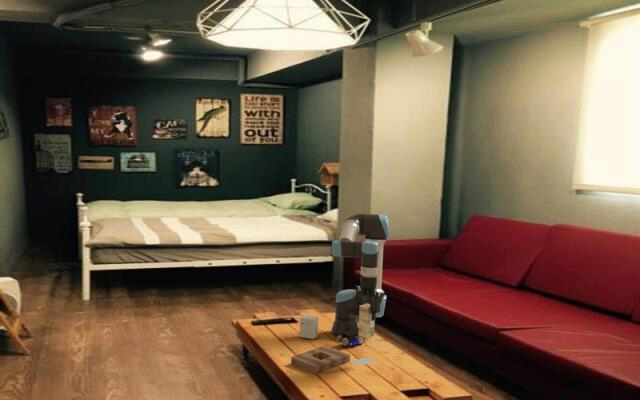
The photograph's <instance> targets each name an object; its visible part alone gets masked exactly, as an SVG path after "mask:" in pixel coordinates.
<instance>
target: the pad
mask: <svg viewBox="0 0 640 400" xmlns="http://www.w3.org/2000/svg"><path fill="white" fill-rule="evenodd" d="M377 363H378V362H376V361H374V360H371V359H368V358H366V357H362V358H359V359H357V360H354V361H350V364H352V365H354V366H356V365H357V366H359V365H367V364H369V365H370V364H377Z"/></svg>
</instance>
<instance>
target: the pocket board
mask: <svg viewBox="0 0 640 400" xmlns="http://www.w3.org/2000/svg"><path fill="white" fill-rule="evenodd" d="M290 358H291V359H290V363H291V366H294V367H297V368H299V369H301V370H304V371H307V372H309V373H312V374H314V375H319V374H321V373H324V372H326V370H327V371H329V369H330V370H332V369H335V368H337V367H340V366H343V365H346V364H350V363H351V361H350V360H351V355H350V354H349V353H346V352H345V351H344V352H343V351H341V350H339V349H336V348H332V347H329V346H327V345H322V346H319V347H316V348H313V349H311V350H307V351H304V352H301V353H299V354H296V355H292V356H291V357H290ZM320 359H321V360H320ZM323 371H324V372H323Z"/></svg>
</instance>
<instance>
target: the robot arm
mask: <svg viewBox="0 0 640 400" xmlns="http://www.w3.org/2000/svg"><path fill="white" fill-rule="evenodd" d="M389 226H390V225H389V219H388V216H387V215H385V214H376V213H375V214H373V213H372V214H371V213H355V214H353V215H350V216H349V217H347V218H346V219H344V220H343V222H342V224H341V227H340V229H341V231H340V232H341V233H340V235H339V238H338V240H332V242H331V255H332V256H333V257H339V258H340V257H341V258H357V259H358V258H359V259H360V277H359V278H360V281H359V283H360V285H357V286H355V289H343V290H341V291H338V292H337V293H336V295H335V296H336V297H335V314H334V315H335V316H334V321H333V324H332V326H331V335H332V336H334V337H336V338H337V337H338V336H342V332H346V331H349V330H353V329H357V328H359V322H358V319H357V318H358V317H359V311H360V305H363V304H370V308H371V313H370V319H369V328H372V327H374V328H375V323H374V320H375V321H376V320H377V318H382V317H383V316H384V312H385V309H386V301H387V297H388V296H387V295H386V294H385V291H384V290H383V289H382V284H383V283H382V282H383V281H382V280H383V262H384V261H383V260H384V245H385V242H387V238H390V227H389ZM356 236H360V237H361V236H362V237H364V241H355V240H356ZM354 337H356V336H353V337H350V339H351V338H354Z"/></svg>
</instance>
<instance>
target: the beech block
mask: <svg viewBox="0 0 640 400" xmlns="http://www.w3.org/2000/svg"><path fill="white" fill-rule="evenodd" d="M370 313H371V308H370V304H363V305H360V311H359V316H358V327H359V336H362V337H364V338H365V339H368V338H372V337H374V336H375V326H374V327H372V328H369V319H370ZM375 321H376V320H374V324H375Z"/></svg>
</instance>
